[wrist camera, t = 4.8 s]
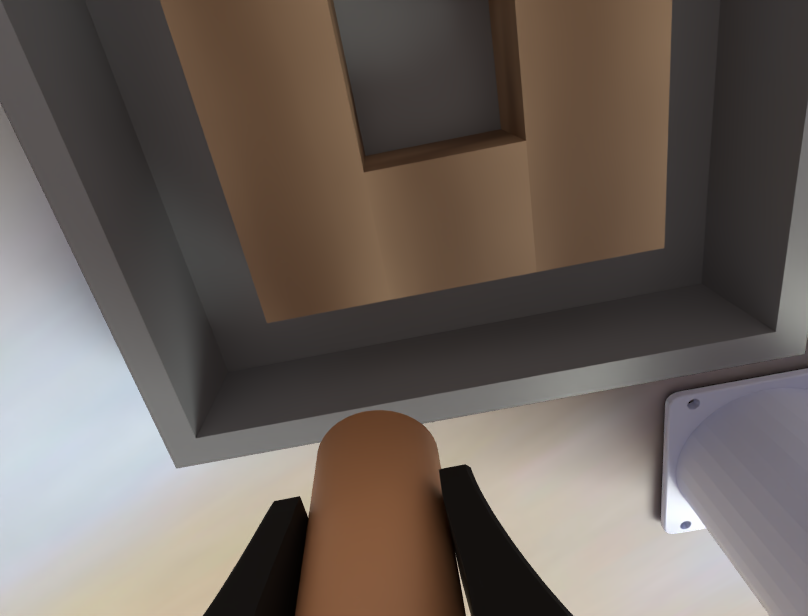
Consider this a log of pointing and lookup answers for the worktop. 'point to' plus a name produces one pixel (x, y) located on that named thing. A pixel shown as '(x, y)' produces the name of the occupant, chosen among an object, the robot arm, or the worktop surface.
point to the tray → (430, 312)
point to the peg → (378, 524)
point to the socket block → (430, 151)
